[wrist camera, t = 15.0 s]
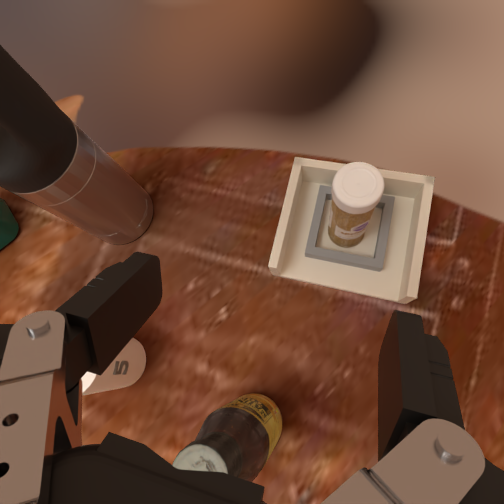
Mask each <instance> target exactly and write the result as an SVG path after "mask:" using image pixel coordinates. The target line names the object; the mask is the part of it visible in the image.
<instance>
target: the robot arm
mask: <svg viewBox="0 0 504 504" xmlns="http://www.w3.org/2000/svg"><path fill="white" fill-rule="evenodd" d="M0 186H1V187H3V188H5V189H6V190H9V191H10V192H12V193H14V194H16V195H18V196H20V197H22V198H24V199H25V200H27V201H29V202H31V203H33V204H35V205H37V206H39V207H41V208H43V209H45V210H47V211H49V212H50V213H52V214H54V215H56V216H58V217H60V218H62V219H64V220H66V221H67V222H69V223H71V224H73V225H75V226H77V227H79V228H81V229H83V230H85V231H86V232H88V233H90V234H92V235H94V236H96V237H98V238H100V239H102V240H104V241H106V242H107V243H110V244H114V245H122V244H127V243H130V242H132V241H134V240H136V239H137V238H139V237H140V236H141V235H142V234H143V233H144V232H145V231H146V229H147V228H148V226H149V225H150V222H151V220H152V216H153V203H152V200H151V198H150V196H149V194H148V193H147V192H146V191H145V190H144V189H143V188H142V187H141V186H140V185H139V184H138V183H137V182H136V181H135V180H134V179H133V178H132V177H131V176H130V175H129V174H128V173H127V172H126V171H125V170H123V169H122V168H121V167H120V166H119V165H118V164H117V163H116V162H115V161H114V160H113V159H112V158H111V157H110V156H109V155H108V154H107V153H105V152H104V151H103V150H102V149H101V148H100V147H99V146H98V145H97V144H96V143H95V142H94V141H92V139H91V138H90V137H89V136H88V135H87V134H85V133H84V132H83V131H82V130H81V129H80V128H79V127H78V126H77V125H76V124H75V123H74V122H73V121H72V120H71V119H70V118H69V117H68V116H67V115H66V114H65V113H64V112H63V111H61V110H60V109H59V107H58V106H57V105H56V104H55V103H54V102H53V100H52V99H51V98H50V97H49V96H48V95H47V93H46V92H45V91H44V90H43V89H42V88H41V87H40V86H39V84H38V83H37V82H36V81H35V80H34V79H33V78H32V77H31V76H30V75H29V74H28V73H27V72H26V71H25V70H24V69H23V68H22V67H21V66H20V65H19V64H18V63H17V62H16V61H15V60H14V59H13V58H12V57H11V56H10V55H9V53H8V52H7V51H6V50H5V49H4V48H3V47H2V46H1V45H0ZM161 298H162V282H161V270H160V261H159V258H158V257H157V256H155V255H150V254H146V253H141V252H135V253H133V254H132V255H131V256H130V257H129V258H128V259H126V260H125V261H124V262H123V263H122V262H119V263H117V264H115V265H112V266H110V267H108V268H106V269H105V270H103V271H102V272H101V273H100V274H99V275H97V276H96V278H95V279H93V280H91V281H90V282H89V283H88V284H87V286H84V287H83V288H82V289H81V290H79V291H78V292H77V293H76V294H75V295H74V296H72V297H71V298H70V299H69V300H68V301H66V302H65V303H64V304H63V305H62V306H60V307H59V308H58V309H57V310H56V311H39V312H35V313H32V314H29V315H27V316H25V317H23V318H22V319H20V320H19V321H17V322H16V323H15V324H0V504H266V503H265V502H264V501H262V500H263V493H264V486H261V485H258V484H255V483H252V482H249V481H247V480H244V479H241V478H238V477H235V476H232V475H230V474H227V473H224V472H212V471H196V470H182V469H177V468H175V467H174V466H172V465H171V464H170V463H168V462H167V461H166V460H164V459H163V458H162V457H160V456H159V455H158V454H156V453H155V452H154V451H152V450H151V449H150V448H148V447H147V446H146V445H144V444H142V443H139V442H136V441H133V440H130V439H127V438H125V437H122V436H119V435H116V434H113V433H110V432H109V433H108V434H107V436H106V437H105V438H104V440H103V441H102V443H101V444H91V445H83V446H82V438H81V423H82V387H83V384H82V379H81V378H82V377H83V376H84V374H85V373H86V372H91V373H94V374H97V375H100V376H101V375H102V374H103V372H104V371H105V370H106V369H107V368H108V366H109V365H110V364H111V363H112V362H113V360H114V359H115V358H116V357H117V356H118V354H119V353H120V352H121V351H122V350H123V348H124V347H125V346H126V345H127V344H128V342H129V341H130V340H131V339H132V337H133V336H134V335H135V334H136V333H137V331H138V330H139V329H140V328H141V327H142V325H143V324H144V323H145V322H146V321H147V319H148V318H149V317H150V316H151V315H152V313H153V312H154V311H155V310H156V309H157V307H158V306H159V304H160V301H161ZM321 504H504V471H503V470H501V469H500V468H498V467H496V466H495V465H493V464H492V463H491V462H489V461H488V460H487V459H486V458H485V457H484V455H483V453H482V450H481V449H480V447H479V445H478V444H477V442H476V441H475V440H474V439H473V438H472V436H471V435H470V434H468V433H467V432H466V431H465V428H464V424H463V420H462V415H461V411H460V406H459V402H458V397H457V393H456V388H455V384H454V381H453V375H452V370H451V368H450V361H449V357H448V352H447V350H446V349H445V347H444V346H443V344H442V343H441V342H440V340H439V339H438V337H437V336H432V335H428V334H424V329H423V323H422V317H421V316H420V315H416V314H411V313H407V312H403V311H398V310H394V312H393V314H392V317H391V320H390V322H389V325H388V328H387V331H386V334H385V337H384V340H383V343H382V346H381V350H380V355H379V363H378V463H377V464H376V465H375V466H374V467H372V468H371V469H369V470H368V469H367V468H362V469H360V470H359V471H357V472H356V473H355V474H354V475H352V476H351V477H350V478H349V479H348V480H347V481H346V482H345V483H343V484H342V485H341V486H340V487H339V488H338V489H337V490H336V491H334V492H333V493H332V494H331V495H330V496H329V497H328V498H327V499H325V500H324V501H323V502H322V503H321Z"/></svg>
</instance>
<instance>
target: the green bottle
mask: <svg viewBox="0 0 504 504" xmlns="http://www.w3.org/2000/svg"><path fill="white" fill-rule="evenodd" d="M18 230H19V225H18V223H17V221H16V219H15V218H14V216H13V214H12V213H11V211H10V209H9V207H8V206H7V204H6V202H5V201H4V200H3V199H1V198H0V250H1V249H2V248H4V247H5V246H6V245H7V244H9V243H10V242H11V241H12V240H14V239H15V237H16V236H17V234H18Z"/></svg>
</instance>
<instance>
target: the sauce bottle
mask: <svg viewBox="0 0 504 504" xmlns="http://www.w3.org/2000/svg"><path fill="white" fill-rule="evenodd" d="M281 432H282V415H281V412H280V410H279V408H278V407H277V405H276V404H275V402H274V401H273V400H272V399H270V398H268V397H266V396H264V395H262V394H256V393H251V394H246V395H243V396H241V397H239V398H238V399H236V400H234V401H232V402H230V403H228V404H226V405H225V406H223V407H221V408H219V409H217V410H216V411H214V412H212V413H211V414H210V415H209V416H208V417H207V418H206V420H205V421H204V423H203V425H202V427H201V429H200V431H199V433H198V435H197V437H196V439H195V441H193V442H191V443H190V444H189V445H187V446H186V447H185V448H184V449H183V450H181V451H180V452H179V453H178V455H177V457H176V458H175V460H174V462H173V465H172V466H174V467H175V468H177V469H182V470H196V471H212V472H224V473H227V474H230V475H232V476H235V477H238V478H241V479H244V480H247V481H249V482H252V481H253V480H254V479H255V478H256V477H257V476H258V473H259V472H260V471H261V470H262V468H263V467H264V465H265V464H266V462H267V460H268V458H269V456H270V454H271V453H272V451H273V449H274V447H275V446H276V444H277V442H278V440H279V438H280V435H281Z"/></svg>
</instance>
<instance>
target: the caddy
mask: <svg viewBox="0 0 504 504" xmlns="http://www.w3.org/2000/svg"><path fill="white" fill-rule="evenodd" d="M344 165H346V164H342V163H335V162H328V161H321V160H314V159H307V158H300V157H295V159H294V163H293V167H292V171H291V175H290V179H289V184H288V188H287V192H286V196H285V200H284V204H283V208H282V212H281V216H280V220H279V224H278V228H277V232H276V236H275V240H274V244H273V248H272V252H271V256H270V260H269V264H268V267H269V269H270V271H271V273H272V275H274V276H279V277H283V278H288V279H292V280H297V281H302V282H306V283H311V284H315V285H320V286H324V287H329V288H334V289H338V290H343V291H347V292H352V293H356V294H361V295H366V296H370V297H375V298H379V299H384V300H388V301H393V302H398V303H402V304H407V303H409V302H411V301H412V300H414V299H416V298H417V294H418V287H419V281H420V274H421V267H422V261H423V254H424V247H425V241H426V234H427V227H428V221H429V214H430V207H431V201H432V194H433V187H434V181H435V177H432V176H426V175H418V174H411V173H404V172H398V171H391V170H384V169H378V170H379V171H380V173H381V174H382V176H383V179H384V191H383V194H382V197H381V199H380V201H379V203H378V204H377V205H376V206H375V209H374V211H373V214H372V217H371V220H370V222H369V225H368V227H367V229H366V231H365V235H364V237H363V239H362V241H361V242H360V243H359V244H358V245H356V246H353V247H349V248H344V247H340V246H338V245H336V244H334V243H333V242H332V241H331V240H330V238H329V235H328V226H329V216H330V207H331V201H332V193H331V189H332V183H333V179H334V176H335V174H336V173H337V171H338V170H339V169H340V168H342V167H343V166H344Z"/></svg>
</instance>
